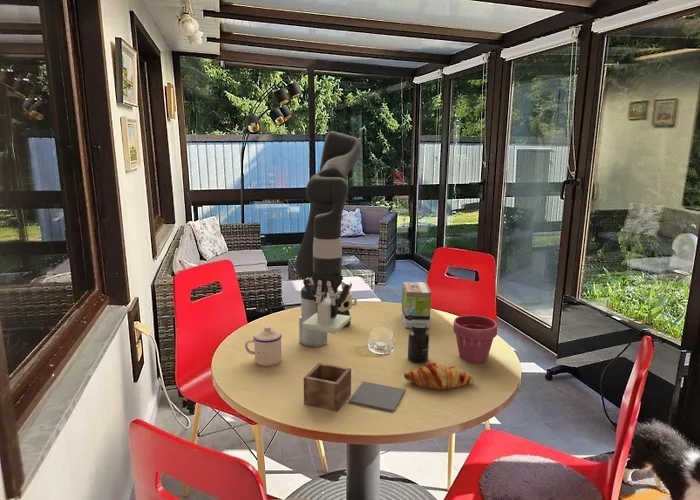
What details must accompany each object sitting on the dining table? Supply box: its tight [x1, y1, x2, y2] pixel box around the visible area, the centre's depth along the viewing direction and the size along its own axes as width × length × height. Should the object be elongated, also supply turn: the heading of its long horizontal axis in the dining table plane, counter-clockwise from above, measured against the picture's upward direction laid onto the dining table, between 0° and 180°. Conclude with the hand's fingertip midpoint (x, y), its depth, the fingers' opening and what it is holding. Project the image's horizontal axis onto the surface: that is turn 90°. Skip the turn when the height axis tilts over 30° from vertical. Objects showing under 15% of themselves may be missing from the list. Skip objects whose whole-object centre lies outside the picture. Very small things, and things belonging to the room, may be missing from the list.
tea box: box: [401, 281, 432, 329], centre depth 193 cm, size 15×10×15 cm
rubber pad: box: [348, 381, 406, 413], centre depth 136 cm, size 13×12×1 cm
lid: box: [302, 297, 352, 334], centre depth 129 cm, size 10×10×7 cm
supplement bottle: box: [407, 323, 430, 364], centre depth 159 cm, size 7×7×12 cm
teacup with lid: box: [244, 326, 283, 367], centre depth 157 cm, size 12×9×12 cm
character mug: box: [328, 290, 358, 327], centre depth 190 cm, size 11×7×13 cm, turn 87°
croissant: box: [403, 361, 476, 390], centre depth 144 cm, size 21×10×8 cm, turn 90°
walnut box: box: [303, 362, 352, 413], centre depth 134 cm, size 10×10×8 cm
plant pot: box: [452, 314, 498, 364], centre depth 161 cm, size 14×14×13 cm
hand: (327, 316), depth 130 cm, fingers closed on lid, 3 cm apart
